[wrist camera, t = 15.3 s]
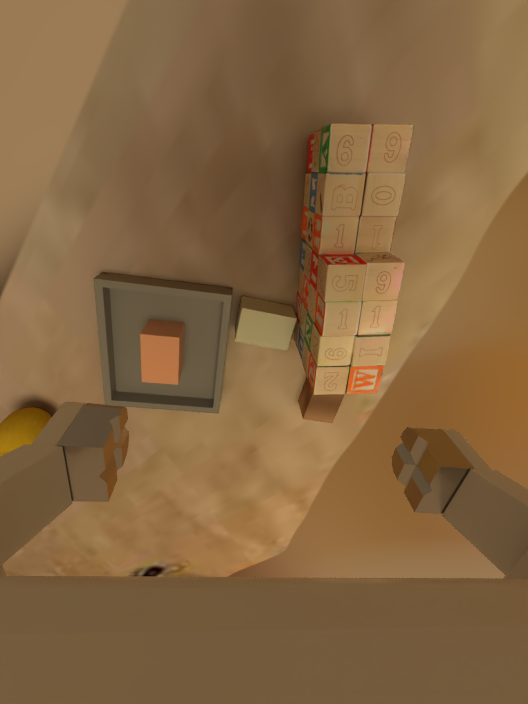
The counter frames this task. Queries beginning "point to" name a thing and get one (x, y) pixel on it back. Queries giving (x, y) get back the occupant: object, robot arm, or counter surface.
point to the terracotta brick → (162, 351)
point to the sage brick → (264, 323)
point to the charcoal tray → (168, 305)
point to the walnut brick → (318, 404)
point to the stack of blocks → (350, 254)
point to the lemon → (21, 428)
